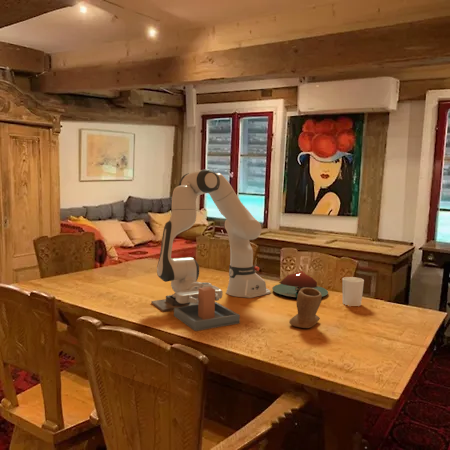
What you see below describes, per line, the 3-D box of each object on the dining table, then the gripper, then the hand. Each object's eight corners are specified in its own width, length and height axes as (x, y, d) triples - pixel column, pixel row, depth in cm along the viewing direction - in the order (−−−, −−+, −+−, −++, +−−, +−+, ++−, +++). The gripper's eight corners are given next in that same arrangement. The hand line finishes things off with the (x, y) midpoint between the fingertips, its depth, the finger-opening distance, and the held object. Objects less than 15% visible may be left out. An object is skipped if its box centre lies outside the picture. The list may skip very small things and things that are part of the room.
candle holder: (364, 303, 222) (365, 278, 221) (360, 308, 213) (362, 282, 212) (343, 300, 226) (344, 275, 225) (339, 305, 217) (340, 280, 216)
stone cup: (313, 333, 180) (315, 295, 178) (285, 326, 186) (287, 290, 184) (327, 322, 193) (329, 287, 191) (300, 316, 199) (301, 282, 197)
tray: (215, 309, 206) (215, 301, 206) (239, 323, 189) (239, 314, 188) (174, 315, 196) (174, 307, 196) (195, 330, 179) (195, 322, 178)
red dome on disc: (265, 296, 229) (266, 274, 228) (280, 283, 255) (281, 263, 254) (322, 304, 219) (323, 280, 218) (332, 290, 245) (333, 269, 243)
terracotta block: (208, 314, 196) (209, 286, 194) (214, 318, 191) (215, 289, 190) (198, 316, 193) (198, 287, 192) (203, 319, 189) (204, 290, 187)
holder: (190, 298, 223) (191, 290, 223) (204, 305, 211) (204, 298, 211) (151, 303, 213) (151, 295, 213) (163, 311, 201) (163, 303, 201)
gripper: (170, 287, 197) (184, 295, 185) (213, 282, 207) (229, 289, 195) (170, 301, 198) (184, 310, 186) (212, 296, 208) (228, 304, 196)
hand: (207, 300), depth 191 cm, fingers open, 8 cm apart
